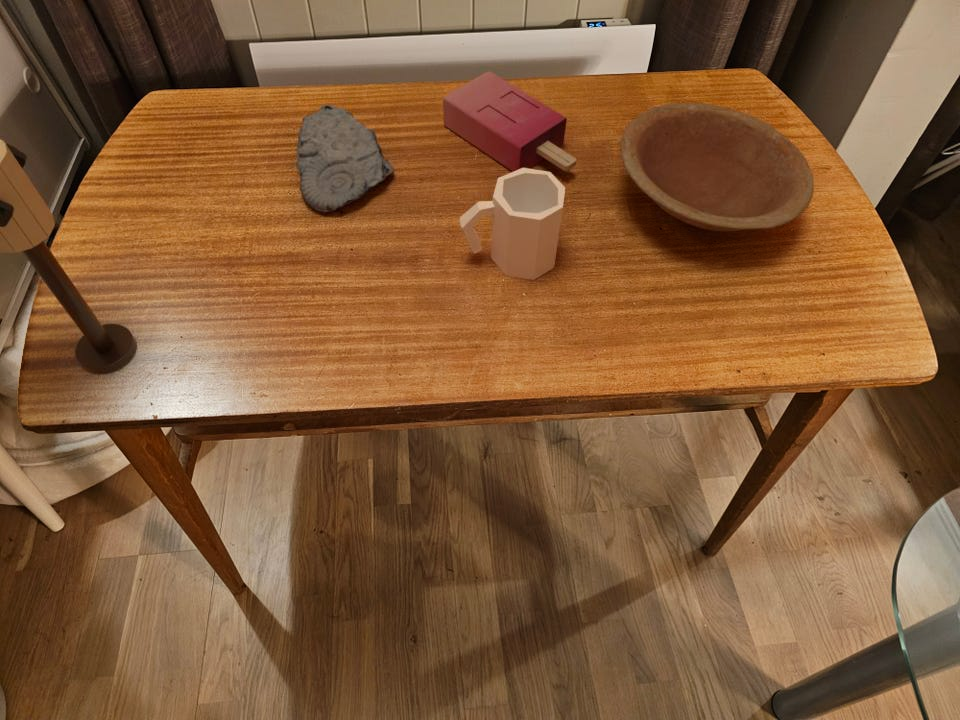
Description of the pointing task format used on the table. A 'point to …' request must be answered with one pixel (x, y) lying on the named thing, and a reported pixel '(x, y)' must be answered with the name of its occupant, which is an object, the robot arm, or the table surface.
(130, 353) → the stand
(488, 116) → the popsicle
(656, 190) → the bowl
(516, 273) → the mug
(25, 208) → the faceted pencil cup
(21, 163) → the robot arm
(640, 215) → the table surface
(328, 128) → the fossil
